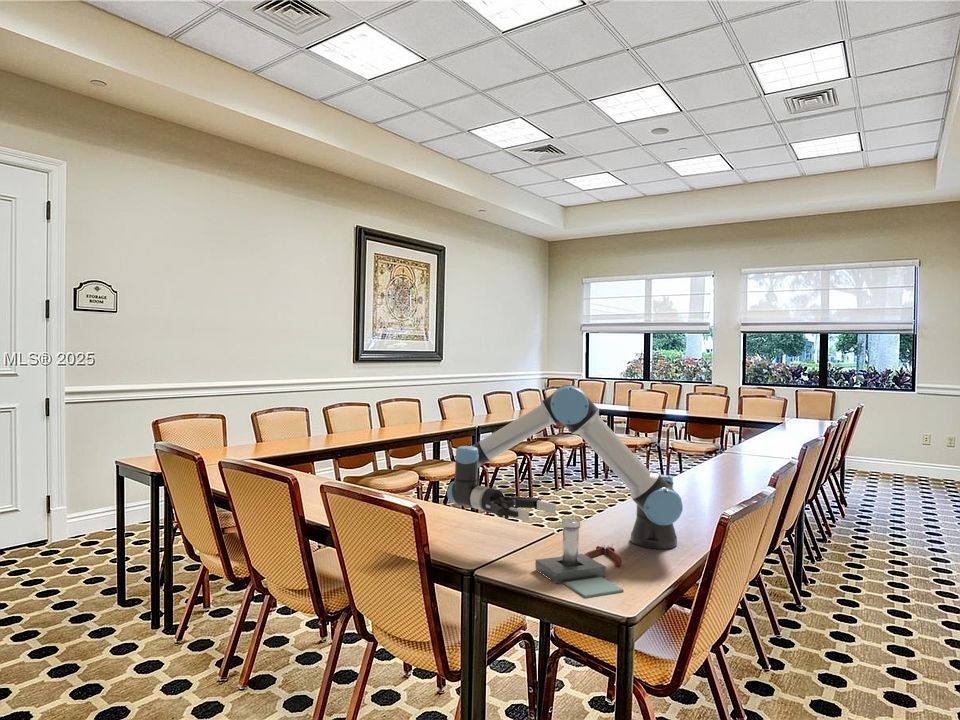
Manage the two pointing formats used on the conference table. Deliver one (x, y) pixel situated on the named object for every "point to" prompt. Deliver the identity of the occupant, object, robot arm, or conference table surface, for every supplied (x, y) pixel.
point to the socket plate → (570, 569)
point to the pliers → (606, 550)
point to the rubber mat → (593, 587)
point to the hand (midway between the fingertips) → (542, 512)
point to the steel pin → (570, 542)
